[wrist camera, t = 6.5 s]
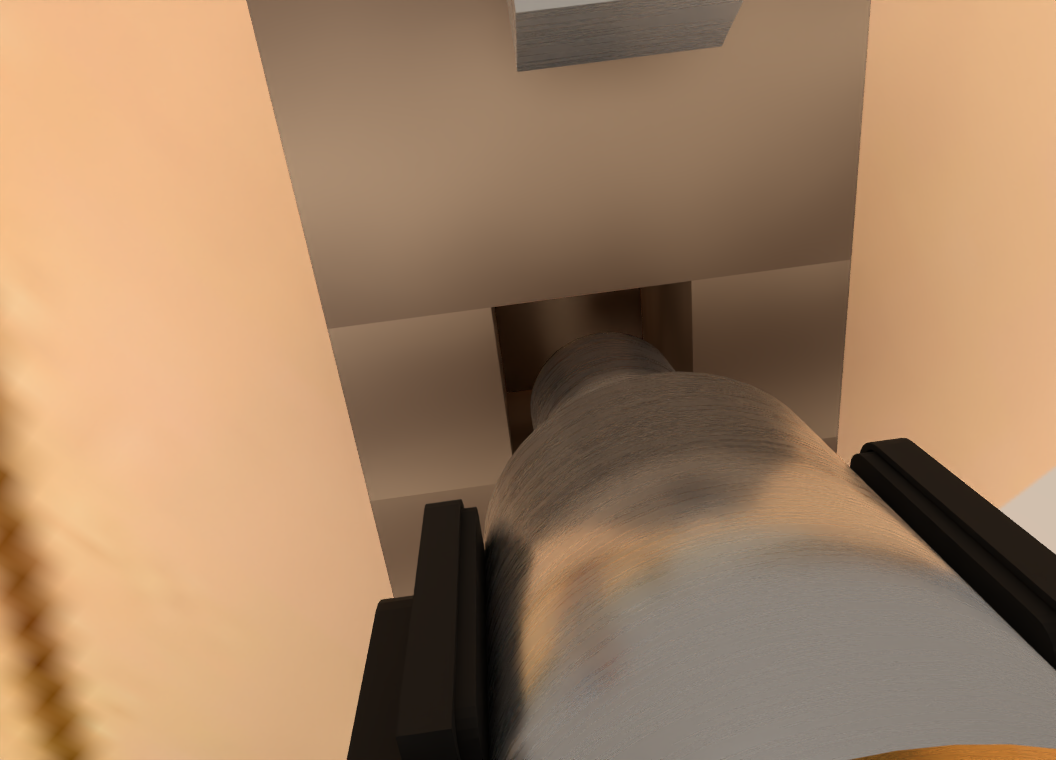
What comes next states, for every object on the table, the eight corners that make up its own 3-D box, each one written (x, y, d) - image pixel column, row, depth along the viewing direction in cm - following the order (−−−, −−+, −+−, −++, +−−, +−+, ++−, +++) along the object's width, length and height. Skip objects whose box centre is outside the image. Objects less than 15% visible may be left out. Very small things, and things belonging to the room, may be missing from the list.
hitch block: (753, 456, 24) (867, 604, 17) (415, 503, 23) (389, 672, 16) (770, -398, 15) (1020, -821, 8) (233, -337, 15) (20, -720, 8)
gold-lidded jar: (725, 266, 14) (1481, 777, 4) (725, 490, 16) (1191, 1220, 6) (463, 301, 14) (425, 936, 3) (498, 522, 16) (542, 1327, 6)
